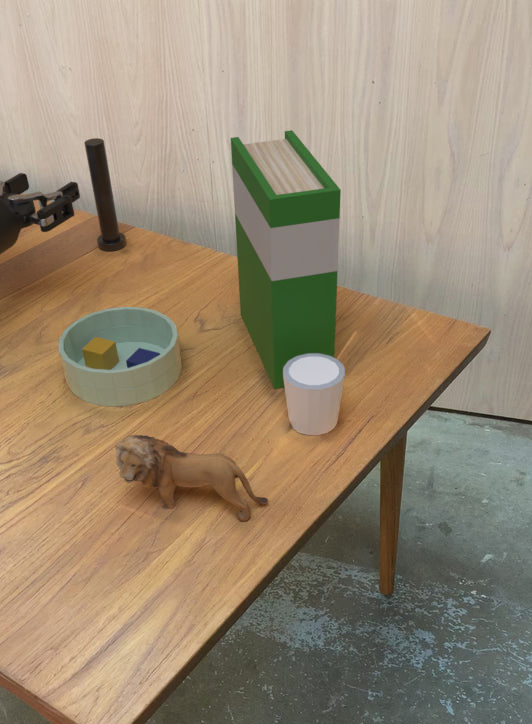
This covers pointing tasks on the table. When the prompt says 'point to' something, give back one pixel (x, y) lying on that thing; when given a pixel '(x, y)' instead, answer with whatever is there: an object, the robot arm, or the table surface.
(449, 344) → the table surface
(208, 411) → the table surface
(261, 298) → the hardback book
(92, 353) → the mustard block
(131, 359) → the navy block
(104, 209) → the black flashlight
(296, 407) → the white cup
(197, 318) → the table surface
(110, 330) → the bowl
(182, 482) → the lion figurine
